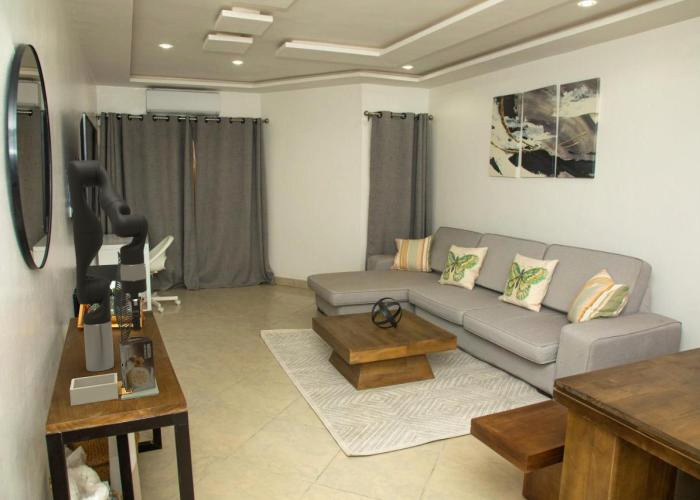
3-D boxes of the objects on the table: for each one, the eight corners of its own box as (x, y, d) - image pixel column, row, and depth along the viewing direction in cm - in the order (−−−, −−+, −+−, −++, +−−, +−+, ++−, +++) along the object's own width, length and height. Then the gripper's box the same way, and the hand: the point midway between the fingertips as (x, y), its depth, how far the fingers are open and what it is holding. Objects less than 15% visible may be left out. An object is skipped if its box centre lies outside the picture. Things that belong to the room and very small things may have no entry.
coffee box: (150, 382, 179) (148, 335, 177) (156, 387, 174) (153, 340, 172) (121, 388, 174) (118, 340, 172) (126, 394, 169) (123, 345, 167)
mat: (120, 385, 178) (120, 383, 178) (155, 379, 183) (155, 378, 183) (121, 400, 166) (121, 398, 166) (158, 394, 170) (158, 392, 170)
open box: (73, 393, 171) (72, 378, 170) (117, 387, 176) (116, 372, 176) (70, 405, 162) (69, 390, 161) (118, 398, 167) (117, 383, 166)
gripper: (120, 274, 174) (123, 322, 177) (121, 282, 162) (124, 334, 164) (144, 272, 178) (147, 320, 180) (147, 280, 165) (150, 331, 167)
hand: (136, 326), depth 172 cm, fingers open, 8 cm apart
